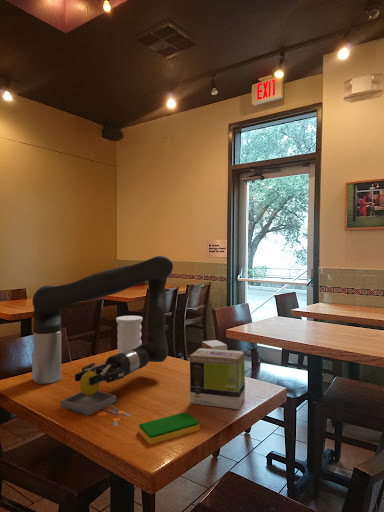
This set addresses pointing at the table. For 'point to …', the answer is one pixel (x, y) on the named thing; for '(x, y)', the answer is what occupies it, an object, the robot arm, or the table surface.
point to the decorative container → (128, 332)
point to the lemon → (85, 386)
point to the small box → (214, 345)
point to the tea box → (217, 378)
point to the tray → (88, 402)
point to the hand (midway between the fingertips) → (82, 379)
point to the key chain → (113, 413)
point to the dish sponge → (168, 427)
